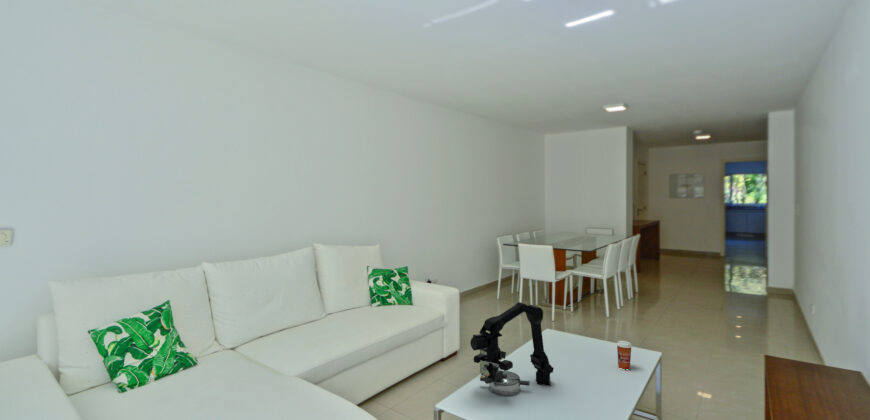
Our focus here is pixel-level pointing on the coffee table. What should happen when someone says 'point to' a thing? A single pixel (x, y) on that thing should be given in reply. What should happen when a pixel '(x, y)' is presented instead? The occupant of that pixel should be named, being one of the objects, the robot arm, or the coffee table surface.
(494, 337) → the robot arm
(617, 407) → the coffee table surface
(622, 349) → the paper cup
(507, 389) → the pot
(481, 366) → the coffee can
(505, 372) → the lid
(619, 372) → the coffee table surface
